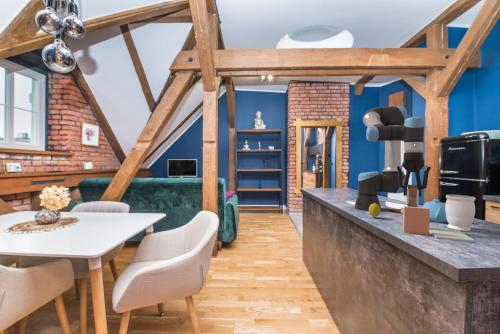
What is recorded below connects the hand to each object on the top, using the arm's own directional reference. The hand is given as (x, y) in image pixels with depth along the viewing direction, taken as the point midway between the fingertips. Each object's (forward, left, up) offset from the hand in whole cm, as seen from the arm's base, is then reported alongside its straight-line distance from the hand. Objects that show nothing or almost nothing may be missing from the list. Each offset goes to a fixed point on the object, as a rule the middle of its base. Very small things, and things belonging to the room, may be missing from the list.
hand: (411, 203), depth 114 cm
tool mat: (+7, +12, -11) cm, 18 cm away
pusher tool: (0, 0, -5) cm, 5 cm away
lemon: (-15, -14, -12) cm, 24 cm away
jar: (-7, +20, -12) cm, 24 cm away
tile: (+9, 0, -11) cm, 14 cm away
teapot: (-23, +15, -12) cm, 30 cm away
